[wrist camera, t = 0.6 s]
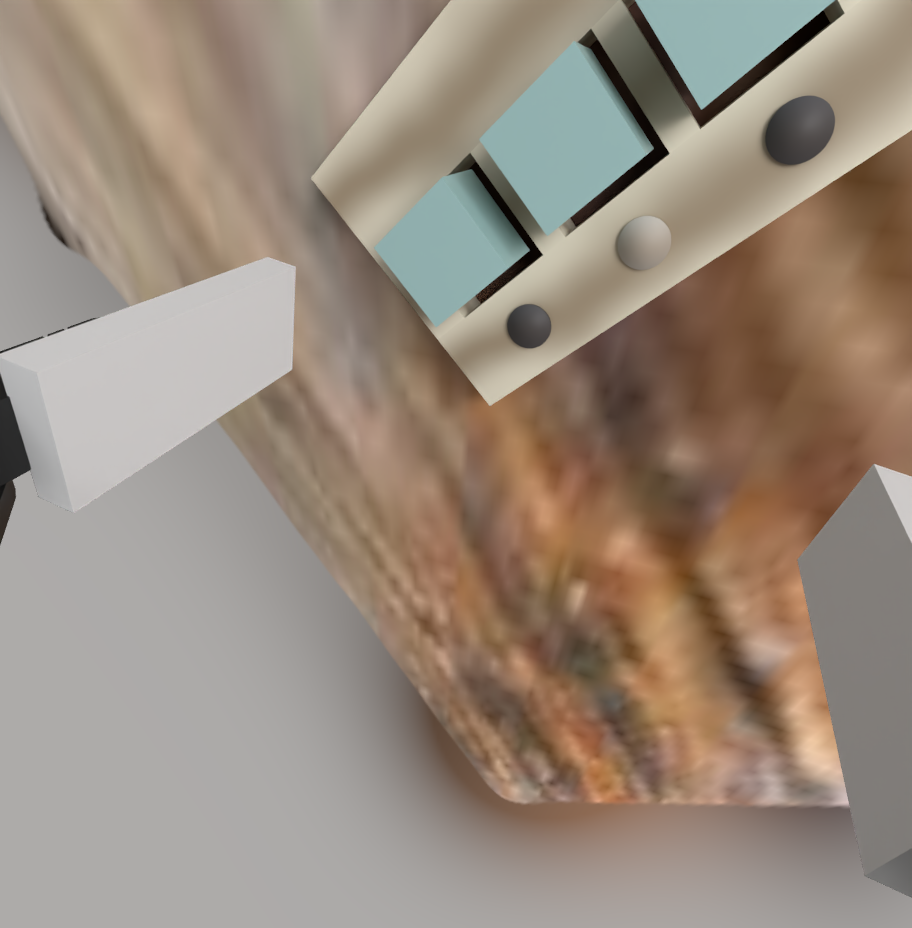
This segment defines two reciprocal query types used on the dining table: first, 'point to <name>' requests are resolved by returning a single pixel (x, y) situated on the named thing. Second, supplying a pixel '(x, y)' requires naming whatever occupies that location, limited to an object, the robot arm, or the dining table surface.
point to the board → (645, 199)
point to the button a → (451, 245)
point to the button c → (723, 36)
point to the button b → (566, 138)
